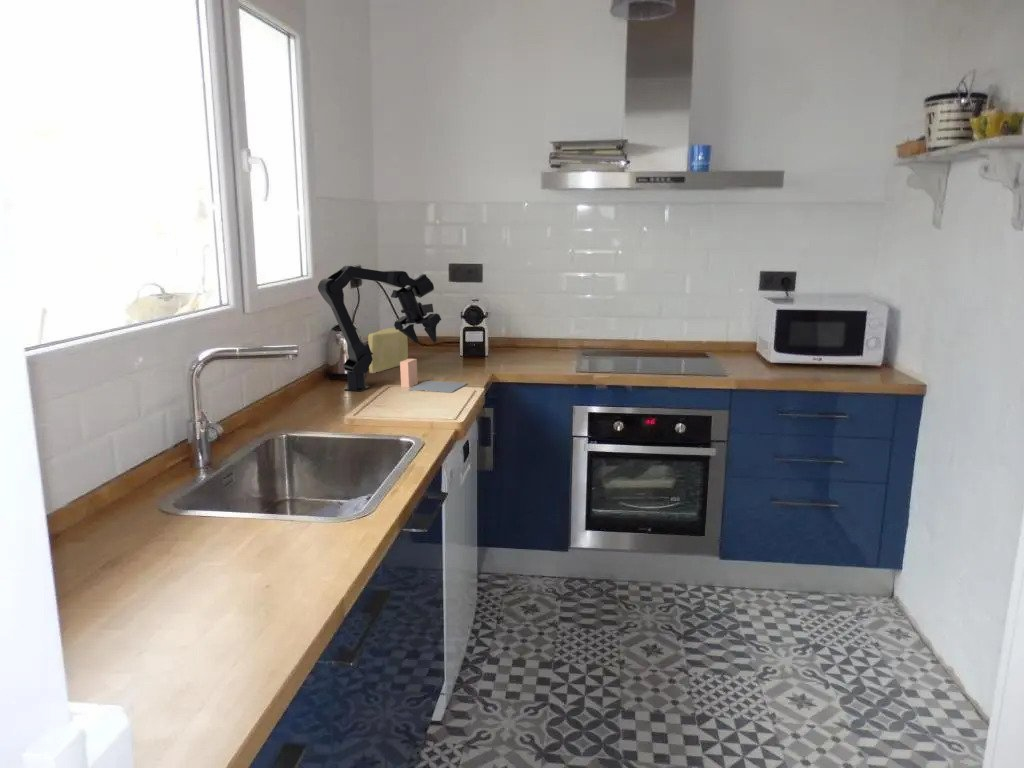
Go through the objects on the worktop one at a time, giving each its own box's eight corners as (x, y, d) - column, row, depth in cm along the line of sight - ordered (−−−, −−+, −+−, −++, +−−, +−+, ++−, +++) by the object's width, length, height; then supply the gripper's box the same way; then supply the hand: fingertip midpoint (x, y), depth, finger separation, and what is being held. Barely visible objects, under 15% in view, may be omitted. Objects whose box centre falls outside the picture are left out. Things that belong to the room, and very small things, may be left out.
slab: (409, 388, 260) (407, 362, 258) (401, 387, 261) (400, 362, 259) (417, 384, 266) (416, 358, 264) (410, 383, 267) (408, 358, 265)
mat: (452, 392, 251) (452, 391, 251) (408, 390, 256) (408, 389, 256) (467, 384, 264) (467, 383, 264) (425, 382, 269) (425, 381, 269)
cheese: (382, 374, 285) (380, 335, 282) (359, 373, 288) (357, 334, 285) (409, 364, 305) (407, 327, 302) (388, 363, 309) (386, 326, 305)
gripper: (442, 291, 265) (458, 330, 271) (405, 295, 277) (421, 332, 283) (422, 306, 257) (439, 345, 264) (385, 309, 269) (403, 347, 276)
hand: (426, 342), depth 272 cm, fingers open, 9 cm apart
